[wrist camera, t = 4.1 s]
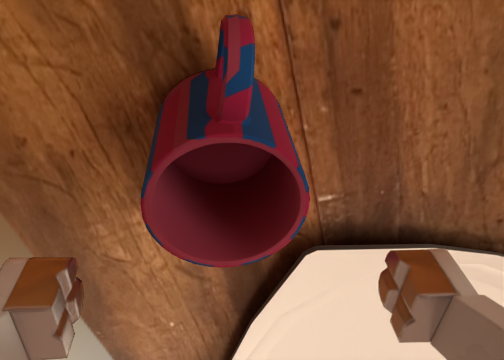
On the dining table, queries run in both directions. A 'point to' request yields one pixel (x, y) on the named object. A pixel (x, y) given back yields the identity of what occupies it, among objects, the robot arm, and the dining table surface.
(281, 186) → the mug
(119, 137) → the dining table surface
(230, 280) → the dining table surface
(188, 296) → the dining table surface
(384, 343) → the plate
